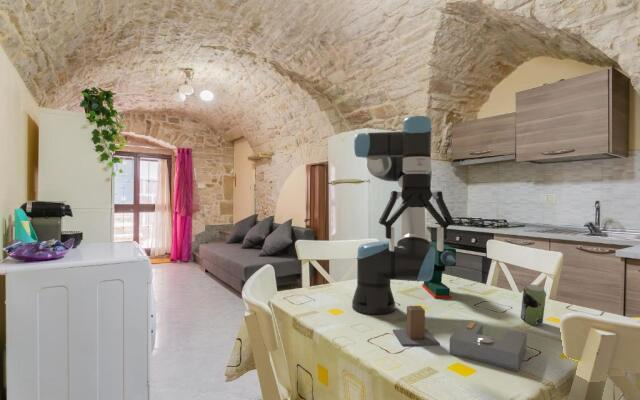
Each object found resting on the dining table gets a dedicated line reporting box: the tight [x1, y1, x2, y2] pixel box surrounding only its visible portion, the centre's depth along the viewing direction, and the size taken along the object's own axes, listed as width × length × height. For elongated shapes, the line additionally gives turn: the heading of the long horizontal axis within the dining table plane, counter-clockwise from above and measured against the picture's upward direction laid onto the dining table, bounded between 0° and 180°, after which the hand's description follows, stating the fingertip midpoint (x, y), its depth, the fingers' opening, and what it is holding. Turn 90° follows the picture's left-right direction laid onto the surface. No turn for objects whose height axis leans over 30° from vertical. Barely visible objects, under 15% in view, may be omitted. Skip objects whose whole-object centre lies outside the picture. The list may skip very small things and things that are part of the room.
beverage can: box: [520, 283, 547, 326], centre depth 110 cm, size 6×7×12 cm
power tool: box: [421, 241, 457, 300], centre depth 140 cm, size 32×7×20 cm, turn 179°
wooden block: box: [406, 305, 426, 339], centre depth 97 cm, size 4×4×8 cm
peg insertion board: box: [449, 320, 528, 373], centre depth 89 cm, size 15×15×5 cm
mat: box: [392, 328, 441, 347], centre depth 98 cm, size 10×10×1 cm
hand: (415, 250), depth 97 cm, fingers open, 13 cm apart
